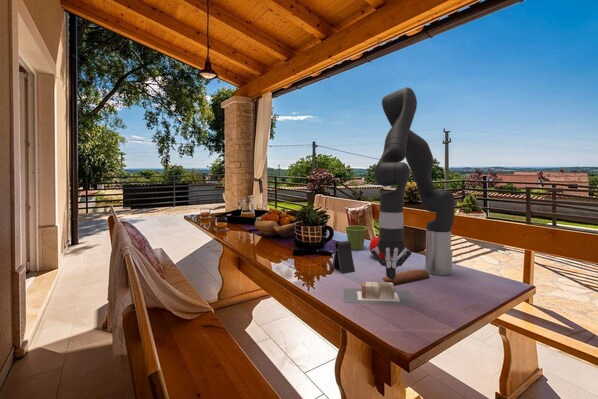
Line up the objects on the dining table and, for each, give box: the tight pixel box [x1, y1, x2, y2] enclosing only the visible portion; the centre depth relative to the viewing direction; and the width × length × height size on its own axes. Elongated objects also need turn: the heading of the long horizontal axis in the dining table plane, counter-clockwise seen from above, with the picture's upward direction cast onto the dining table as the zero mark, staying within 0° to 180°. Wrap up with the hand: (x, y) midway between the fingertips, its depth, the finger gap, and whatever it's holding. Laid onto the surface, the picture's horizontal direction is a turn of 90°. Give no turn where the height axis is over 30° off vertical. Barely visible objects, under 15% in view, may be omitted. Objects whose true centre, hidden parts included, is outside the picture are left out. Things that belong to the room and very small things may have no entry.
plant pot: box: [344, 225, 368, 251], centre depth 166 cm, size 12×12×11 cm
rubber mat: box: [343, 287, 418, 307], centre depth 103 cm, size 22×12×1 cm, turn 82°
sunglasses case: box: [381, 269, 430, 287], centre depth 119 cm, size 18×7×7 cm
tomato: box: [368, 235, 391, 260], centre depth 149 cm, size 13×12×11 cm
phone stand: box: [331, 240, 356, 274], centre depth 133 cm, size 9×6×12 cm, turn 21°
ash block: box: [361, 281, 396, 299], centre depth 103 cm, size 4×4×10 cm
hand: (390, 278), depth 102 cm, fingers closed
